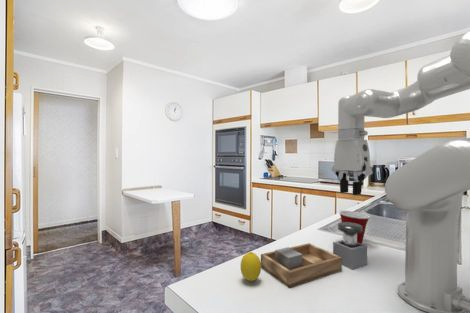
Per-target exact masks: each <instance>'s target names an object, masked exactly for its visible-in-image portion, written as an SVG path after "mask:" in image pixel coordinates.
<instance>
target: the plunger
mask: <svg viewBox="0 0 470 313" xmlns="http://www.w3.org/2000/svg"><path fill="white" fill-rule="evenodd" d="M337 229H338V231H340V232H342V240H343V245H345V246H348V247H350V248H354V247H357V233H362V226H361V225H359V224H356V223H351V222H342V221H340V222H338V224H337Z"/></svg>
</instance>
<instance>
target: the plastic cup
mask: <svg viewBox="0 0 470 313" xmlns="http://www.w3.org/2000/svg"><path fill="white" fill-rule="evenodd" d="M338 213H339V215H340V220H341V221H340V222H351V223H356V224H359V225H361V226H362V233H357V242H358V243H361V244H363V240H364V237H365V233H366V228H367V225H368V221H369V219H371V216H370V215H368V214H366V213H363V212H358V211H352V210H339V211H338Z"/></svg>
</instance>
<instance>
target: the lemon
mask: <svg viewBox="0 0 470 313" xmlns="http://www.w3.org/2000/svg"><path fill="white" fill-rule="evenodd" d="M261 271H262V268H261V258H260V257H259V256H258V255H257V254H256V253H255V252H253V251H249V252H247V253H245V254H244V255H243V256H242V258H241V261H240V273H241V275H242V277H243V278H244V279H245V280H247V281H249V282H253V281H255V280H256V279H258V278H259V277H260V274H261Z"/></svg>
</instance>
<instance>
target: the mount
mask: <svg viewBox="0 0 470 313" xmlns="http://www.w3.org/2000/svg"><path fill="white" fill-rule="evenodd" d="M332 253H333V254H335V255H337V256H340V257H342V267H343V266H344V267H346V268H347V269H349V270H356V269H359V268H362V267H366V266H367V265H368V245H366V244H365V243H364V244H363V243H362V244H361V243H358V242H357V247H354V248H350V247H348V246H345V245H343V239H341V240H336V241H332Z"/></svg>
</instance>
